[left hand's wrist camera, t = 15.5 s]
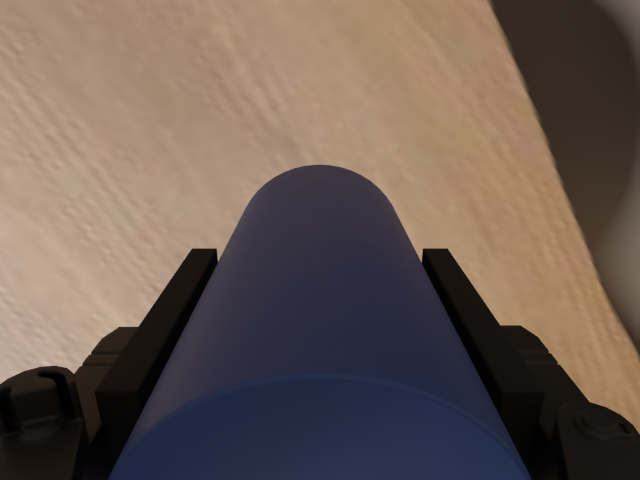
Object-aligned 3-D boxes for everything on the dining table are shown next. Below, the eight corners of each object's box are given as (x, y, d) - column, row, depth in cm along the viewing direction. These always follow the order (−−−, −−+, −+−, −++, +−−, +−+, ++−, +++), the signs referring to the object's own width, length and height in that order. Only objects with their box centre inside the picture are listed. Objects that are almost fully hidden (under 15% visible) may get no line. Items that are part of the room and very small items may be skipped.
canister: (284, 132, 16) (204, 290, 5) (433, 214, 17) (642, 493, 6) (211, 274, 18) (39, 612, 7) (349, 339, 19) (390, 720, 8)
